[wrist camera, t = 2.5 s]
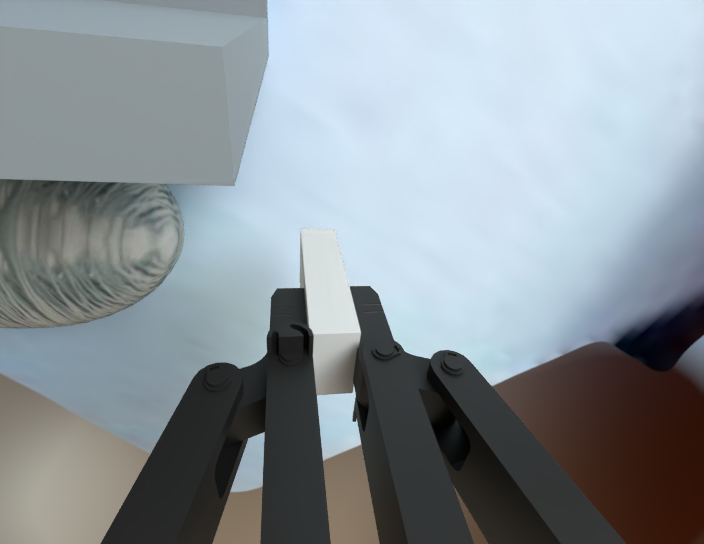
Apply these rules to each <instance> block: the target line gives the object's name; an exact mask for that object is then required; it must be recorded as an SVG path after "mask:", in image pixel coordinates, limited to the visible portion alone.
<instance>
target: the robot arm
mask: <svg viewBox="0 0 704 544" xmlns="http://www.w3.org/2000/svg"><path fill="white" fill-rule="evenodd" d="M353 385H354V387H355V392H356V399H355V405H354V412H353V422H355V421H356V418H357V422H358V427H359V433H360V438H361V444H362V449H363V455H364V460H365V465H366V470H367V476H368V481H369V487H370V493H371V498H372V504H373V509H374V515H375V519H376V525H377V530H378V536H379V542H380V544H474V543H473V539H472V537H471V534H470V531H469V528H468V526H467V523H466V520H465V517H464V514H463V512H462V509H461V506H460V503H459V501H458V498H457V495H456V492H455V490H454V487H455V488H456V490H457V492H458V493H459V495H460V496H461V498H462V500H463V502H464V503H465V505H466V507H467V508H468V510H469V512H470V513H471V515H472V517H473V518H474V520H475V522H476V523H477V525H478V527H479V528H480V530H481V532H482V533H483V535H484V537H485V538H486V540H487V542H488V543H489V544H626V543H625V542H624V541H623V539H622V538H621V537H620V536H619V535H618V534H617V532H616V531H615V530H614V529H613V528H612V527H611V525H610V524H609V523H608V522H607V521H606V520H605V518H604V517H603V516H602V515H601V514H600V513H599V511H598V510H597V509H596V508H595V507H594V506H593V504H592V503H591V502H590V501H589V500H588V499H587V497H586V496H585V495H584V494H583V493H582V492H581V490H580V489H579V488H578V487H577V486H576V485H575V483H574V482H573V481H572V480H571V479H570V478H569V477H568V475H567V474H566V473H565V472H564V471H563V469H562V468H561V467H560V466H559V465H558V464H557V462H556V461H555V460H554V459H553V458H552V457H551V455H550V454H549V453H548V452H547V451H546V449H545V448H544V447H543V446H542V445H541V444H540V442H539V441H538V440H537V439H536V438H535V437H534V435H533V434H532V433H531V432H530V431H529V430H528V429H527V427H526V426H525V425H524V424H523V423H522V422H521V420H520V419H519V418H518V417H517V416H516V414H515V413H514V412H513V411H512V410H511V409H510V408H509V406H508V405H507V404H506V403H505V402H504V401H503V399H502V398H501V397H500V396H499V395H498V393H497V392H496V391H495V390H494V389H493V388H492V386H491V385H490V384H489V383H488V382H487V381H486V379H485V378H484V377H483V376H482V375H481V374H480V372H479V371H478V370H477V369H476V368H475V367H474V365H473V364H472V363H471V362H470V361H469V360H468V359H467V358H466V357H465V356H463V355H461V354H459V353H457V352H454V351H449V350H443V351H439V352H437V353H435V354H434V355H433V356H432V358H431V359H427V358H423V357H418V356H414V355H411V354H408V353H406V352H405V351H404V350H403V348H402V347H401V345H400V344H398V343H397V342H396V341H394V339H393V337H392V334H391V331H390V328H389V325H388V322H387V319H386V316H385V313H384V311H383V308H382V305H381V302H380V299H379V296H378V294H377V293H376V292H375V291H374V290H373V289H372V288H371V287H370V286H349V282H348V278H347V274H346V270H345V266H344V262H343V258H342V254H341V250H340V246H339V242H338V238H337V234H336V230H335V229H301V239H300V288H284V289H277V290H276V291H275V293H274V294H273V295H272V297H271V317H270V331H269V332H268V335H267V354H266V355H265V356H264V357H263V358H262V359H261V360H260V361H258V362H257V363H255V364H253V365H250V366H248V367H244V368H241V369H239V368H237V367H236V366H235V365H233V364H229V363H215V364H211V365H208V366H206V367H205V368H203V369H201V370H200V371H199V372H198V373H197V374H196V375H195V377H194V378H193V379H192V381H191V383H190V385H189V387H188V388H187V390H186V392H185V394H184V396H183V397H182V399H181V401H180V403H179V405H178V406H177V408H176V410H175V412H174V413H173V415H172V417H171V419H170V421H169V422H168V424H167V426H166V428H165V430H164V431H163V433H162V435H161V437H160V439H159V440H158V442H157V444H156V446H155V447H154V449H153V451H152V453H151V455H150V457H149V458H148V460H147V462H146V464H145V465H144V467H143V469H142V471H141V472H140V474H139V476H138V478H137V480H136V481H135V483H134V485H133V487H132V489H131V490H130V492H129V494H128V496H127V498H126V499H125V501H124V503H123V505H122V506H121V508H120V510H119V512H118V514H117V515H116V517H115V519H114V521H113V523H112V524H111V526H110V528H109V530H108V532H107V533H106V535H105V537H104V539H103V540H102V542H101V544H212V543H213V540H214V537H215V534H216V531H217V528H218V525H219V522H220V519H221V516H222V513H223V511H224V507H225V505H226V502H227V499H228V496H229V493H230V490H231V487H232V484H233V482H234V479H235V476H236V473H237V470H238V467H239V464H240V461H241V458H242V455H243V452H244V449H245V447H246V444H247V441H248V438H250V437H253V436H255V435H258V434H260V433H263V432H265V441H264V467H263V494H262V520H261V544H331V543H330V533H329V522H328V511H327V502H326V490H325V480H324V469H323V458H322V448H321V437H320V426H319V416H318V405H317V395H326V394H341V393H352V392H353ZM452 483H453V484H452ZM453 485H454V487H453Z"/></svg>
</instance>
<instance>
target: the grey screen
mask: <svg viewBox="0 0 704 544" xmlns="http://www.w3.org/2000/svg"><path fill="white" fill-rule="evenodd" d="M268 56H269V53H268V18H267V0H0V179H20V180H54V181H88V182H122V183H156V184H190V185H224V186H235V182H236V178H237V174H238V170H239V167H240V163H241V159H242V155H243V151H244V148H245V144H246V140H247V136H248V132H249V128H250V125H251V121H252V117H253V113H254V109H255V106H256V102H257V98H258V94H259V90H260V87H261V83H262V79H263V75H264V71H265V68H266V64H267V60H268Z"/></svg>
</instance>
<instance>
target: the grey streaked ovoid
mask: <svg viewBox="0 0 704 544" xmlns="http://www.w3.org/2000/svg"><path fill="white" fill-rule="evenodd" d="M183 241H184V224H183V219H182V216H181V212H180V209H179V206H178V203H177V202H176V200H175V198H174V197H173V195H172V193H171V192H170V191H169V189H168V188H167V186H166V185H165V184H156V183H122V182H88V181H54V180H20V179H0V328H47V327H60V326H69V325H75V324H79V323H86V322H89V321H93V320H96V319H99V318H103V317H106V316H110V315H112V314H114V313H116V312H119V311H121V310H123V309H125V308H127V307H129V306H132V305H133V304H135V303H136V302H138V301H140V300H141V299H143V298H144V297H146V296H147V295H148V294H150V293H151V292H152V291H154V290H155V289H156V288H157V287H158V286H159V285H160V284H162V282H163V281H164V280H165V278H166V277H167V275H168V274H169V273H170V272H171V270H172V269H173V267H174V265H175V264H176V262H177V260H178V258H179V256H180V253H181V250H182V247H183Z"/></svg>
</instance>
